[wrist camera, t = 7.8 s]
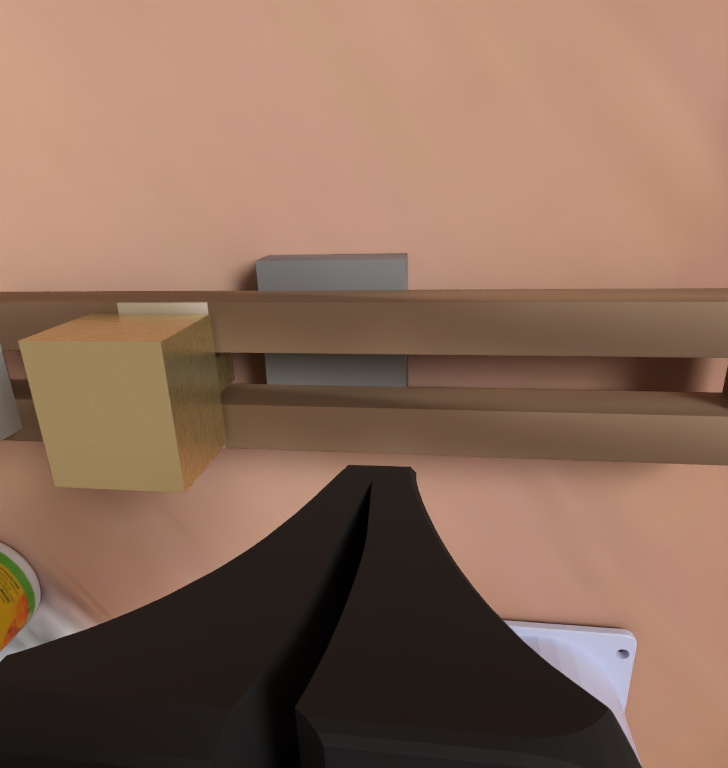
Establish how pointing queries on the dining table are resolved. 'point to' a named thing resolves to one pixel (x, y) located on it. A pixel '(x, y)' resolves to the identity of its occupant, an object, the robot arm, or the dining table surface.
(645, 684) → the dining table surface
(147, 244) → the dining table surface
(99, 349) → the block
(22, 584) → the supplement bottle
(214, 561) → the dining table surface
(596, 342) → the beam
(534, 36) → the dining table surface
